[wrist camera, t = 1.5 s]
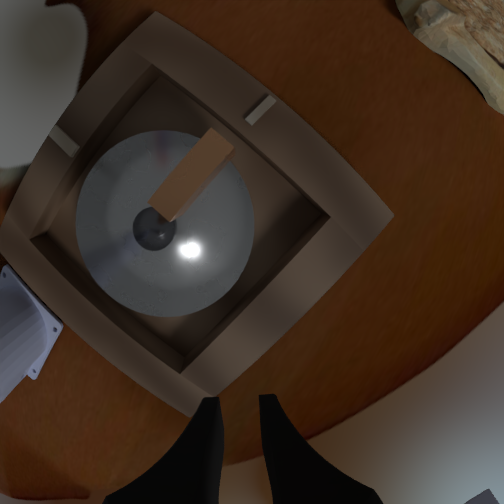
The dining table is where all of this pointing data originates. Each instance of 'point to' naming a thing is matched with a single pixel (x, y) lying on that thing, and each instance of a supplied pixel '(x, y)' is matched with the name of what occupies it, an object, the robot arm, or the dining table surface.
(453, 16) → the ashtray
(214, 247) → the dial
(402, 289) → the dining table surface
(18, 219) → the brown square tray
